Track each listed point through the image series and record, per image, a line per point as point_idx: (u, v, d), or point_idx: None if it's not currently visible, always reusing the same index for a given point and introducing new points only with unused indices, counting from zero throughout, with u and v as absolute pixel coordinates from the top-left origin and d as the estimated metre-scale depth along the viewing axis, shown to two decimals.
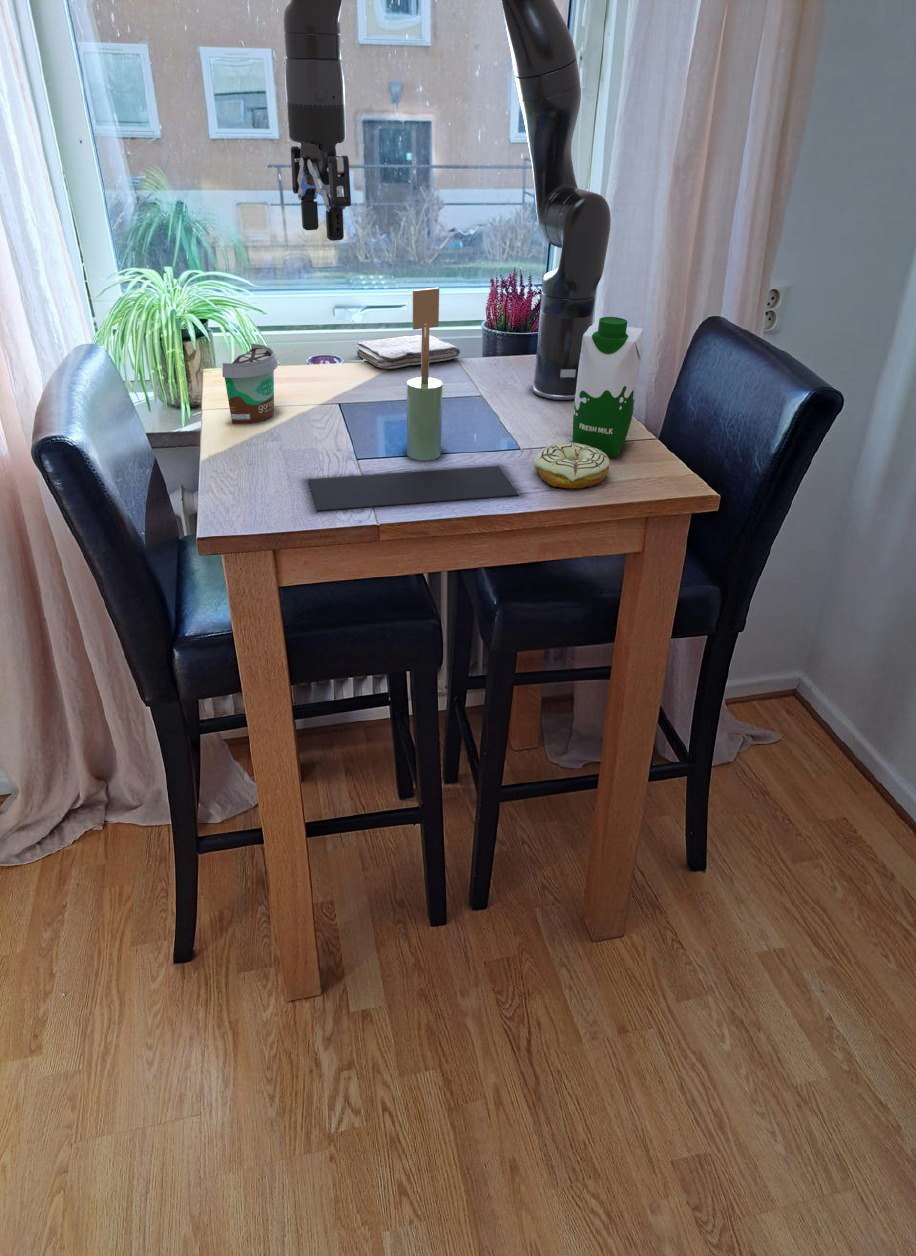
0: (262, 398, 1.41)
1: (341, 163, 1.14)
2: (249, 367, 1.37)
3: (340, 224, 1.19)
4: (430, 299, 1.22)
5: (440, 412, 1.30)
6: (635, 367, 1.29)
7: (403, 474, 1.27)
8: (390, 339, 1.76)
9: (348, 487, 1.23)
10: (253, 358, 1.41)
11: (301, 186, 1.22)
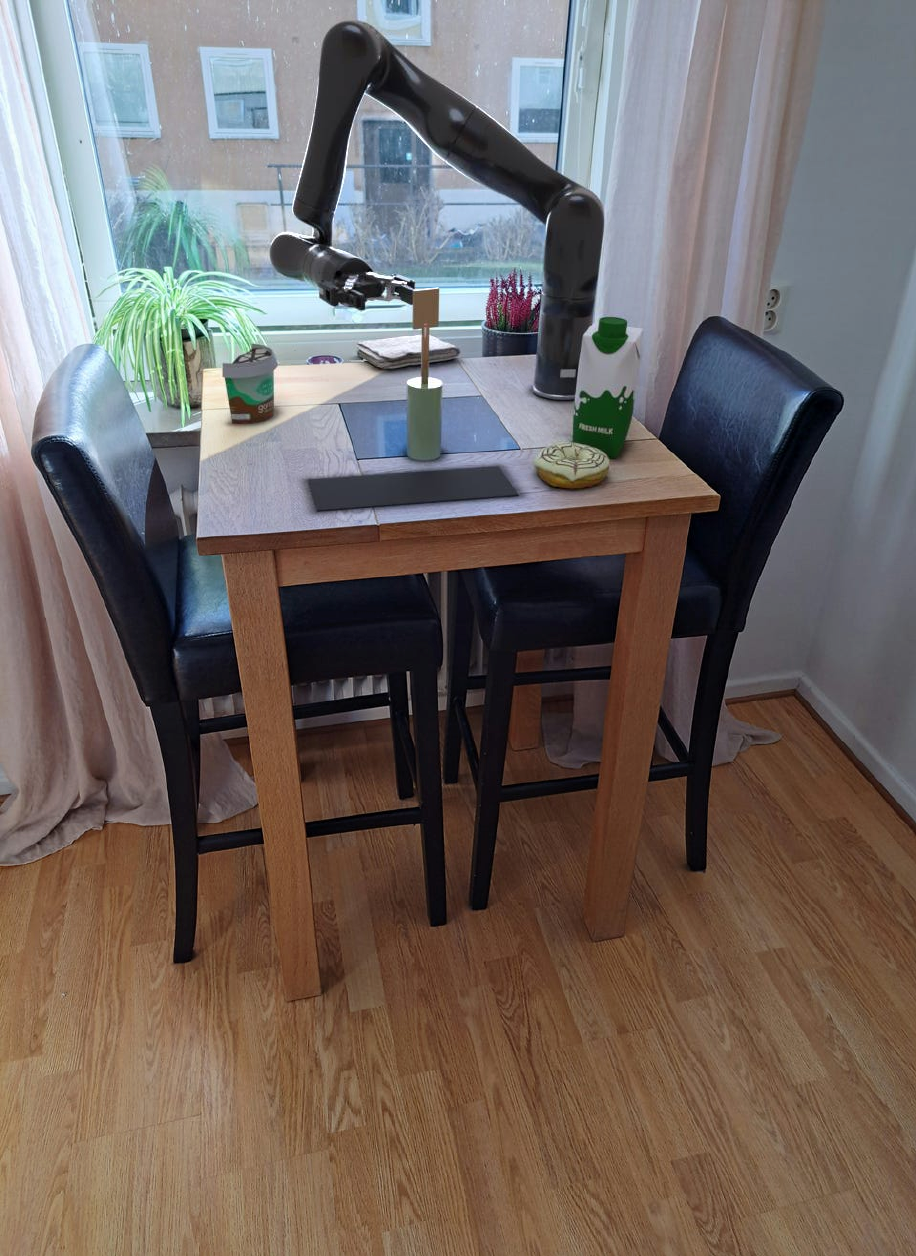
0: (262, 398, 1.41)
1: (319, 289, 1.34)
2: (249, 367, 1.37)
3: (350, 297, 1.30)
4: (430, 299, 1.22)
5: (440, 412, 1.30)
6: (635, 367, 1.29)
7: (403, 474, 1.27)
8: (390, 339, 1.76)
9: (348, 487, 1.23)
10: (253, 358, 1.41)
11: (388, 300, 1.37)
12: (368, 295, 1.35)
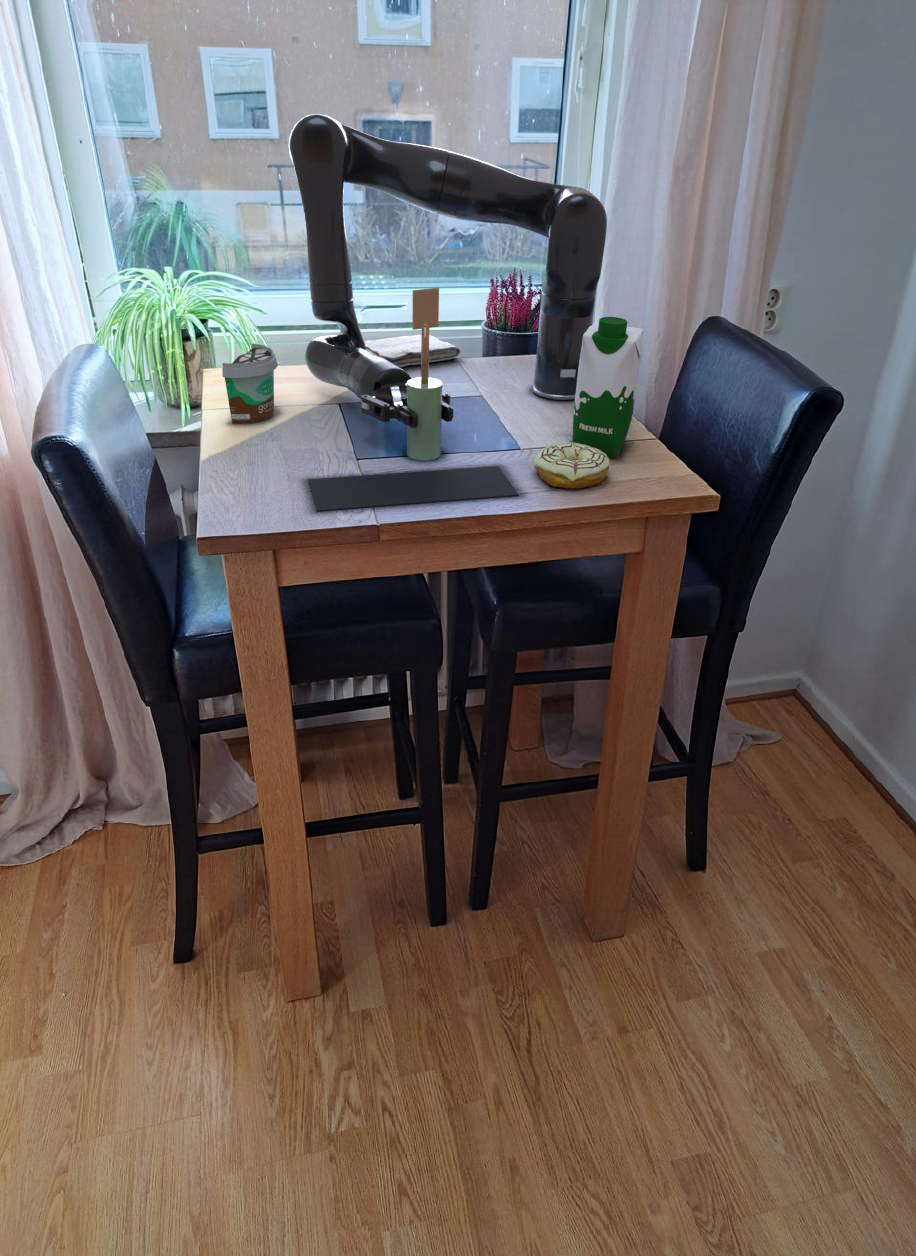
0: (262, 398, 1.41)
1: (363, 404, 1.32)
2: (249, 367, 1.37)
3: (402, 415, 1.28)
4: (430, 299, 1.22)
5: (440, 412, 1.30)
6: (635, 367, 1.29)
7: (403, 474, 1.27)
8: (390, 339, 1.76)
9: (348, 487, 1.23)
10: (253, 358, 1.41)
11: None
12: None
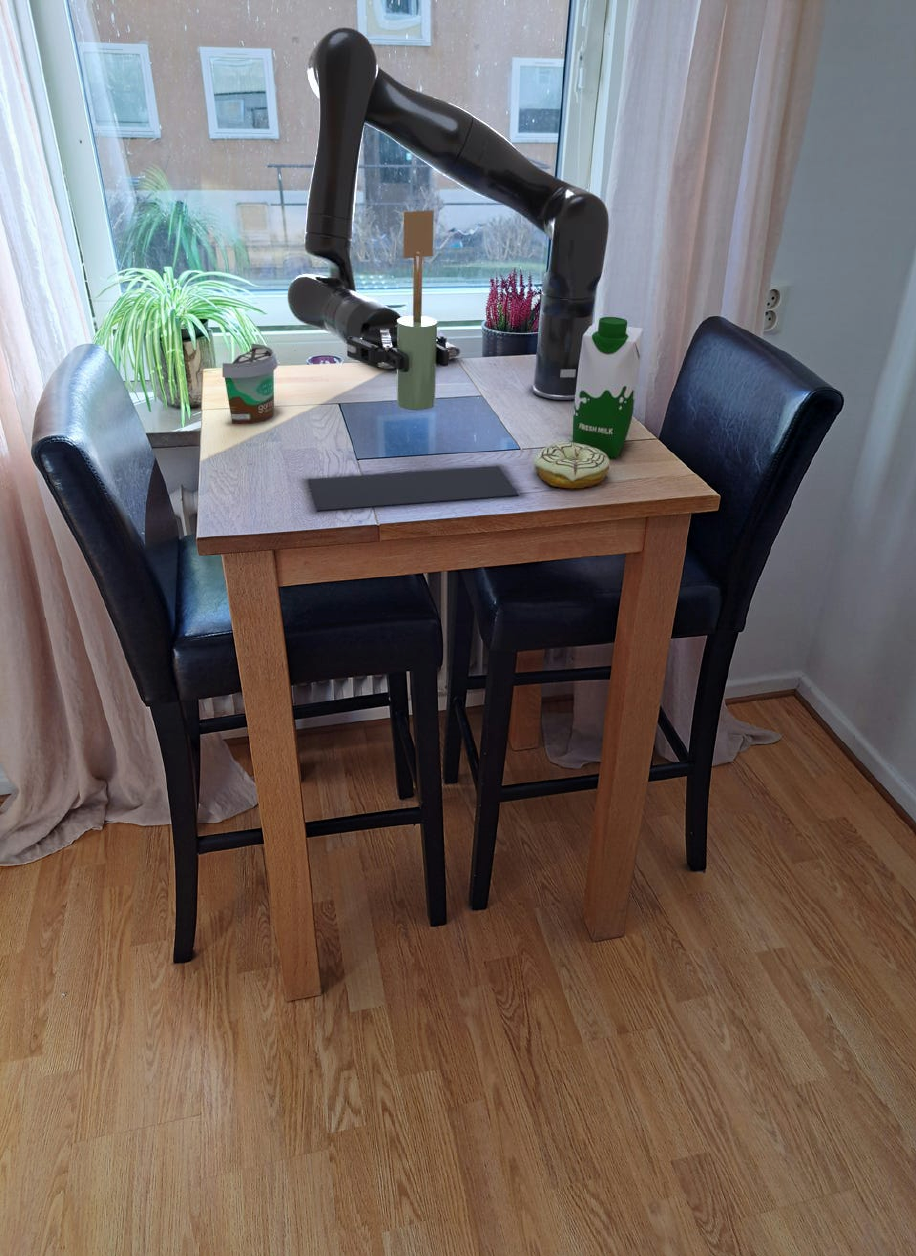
0: (262, 398, 1.41)
1: (349, 346, 1.18)
2: (249, 367, 1.37)
3: (391, 357, 1.14)
4: (423, 223, 1.08)
5: (434, 355, 1.16)
6: (635, 367, 1.29)
7: (403, 474, 1.27)
8: None
9: (348, 487, 1.23)
10: (253, 358, 1.41)
11: None
12: None
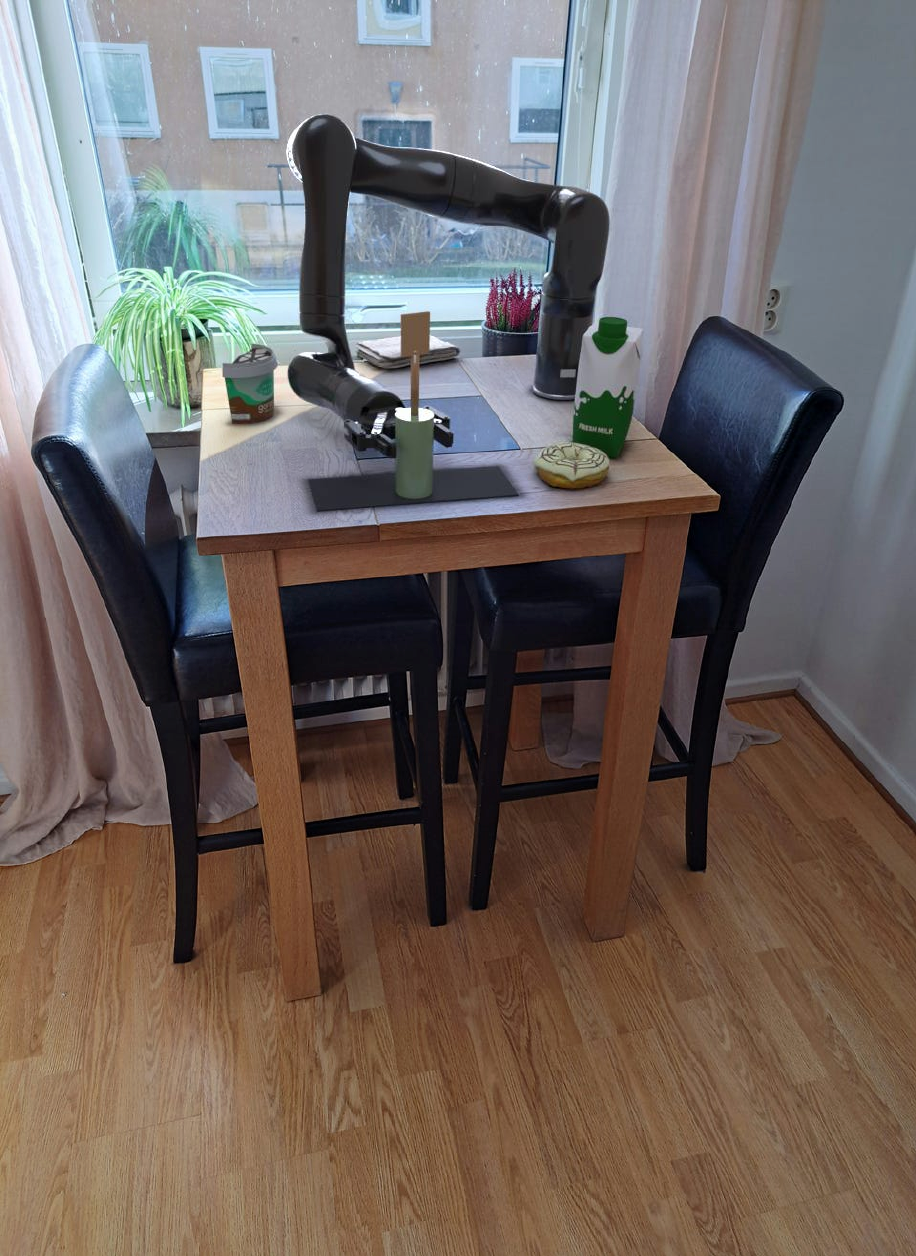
0: (262, 398, 1.41)
1: (345, 429, 1.21)
2: (249, 367, 1.37)
3: (379, 444, 1.16)
4: (420, 324, 1.10)
5: (432, 446, 1.18)
6: (635, 367, 1.29)
7: None
8: (390, 339, 1.76)
9: (348, 487, 1.23)
10: (253, 358, 1.41)
11: None
12: None
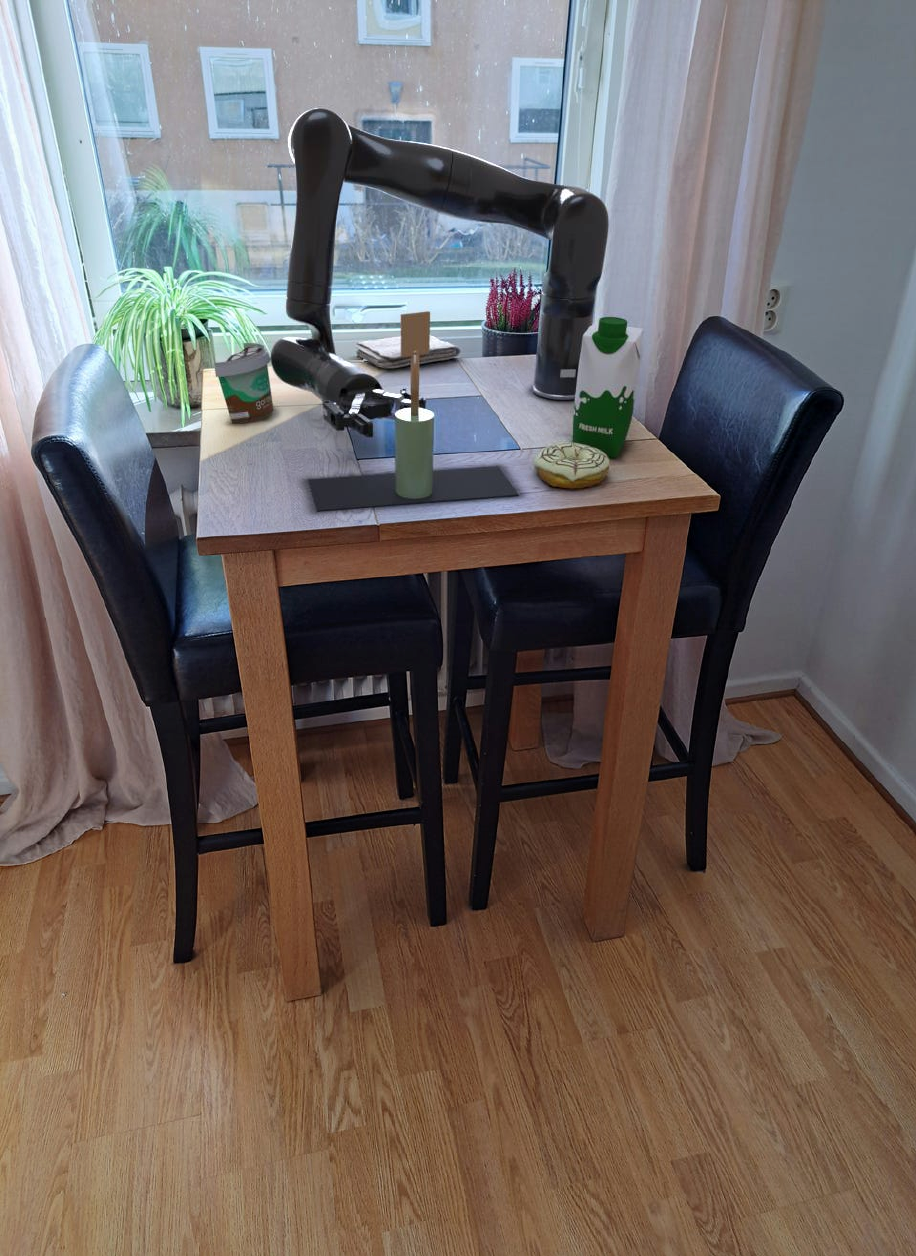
0: (258, 394, 1.41)
1: (324, 409, 1.26)
2: (241, 363, 1.37)
3: (357, 423, 1.21)
4: (420, 324, 1.10)
5: (432, 446, 1.18)
6: (635, 367, 1.29)
7: None
8: (389, 339, 1.76)
9: (348, 487, 1.23)
10: (246, 356, 1.41)
11: None
12: (375, 415, 1.27)
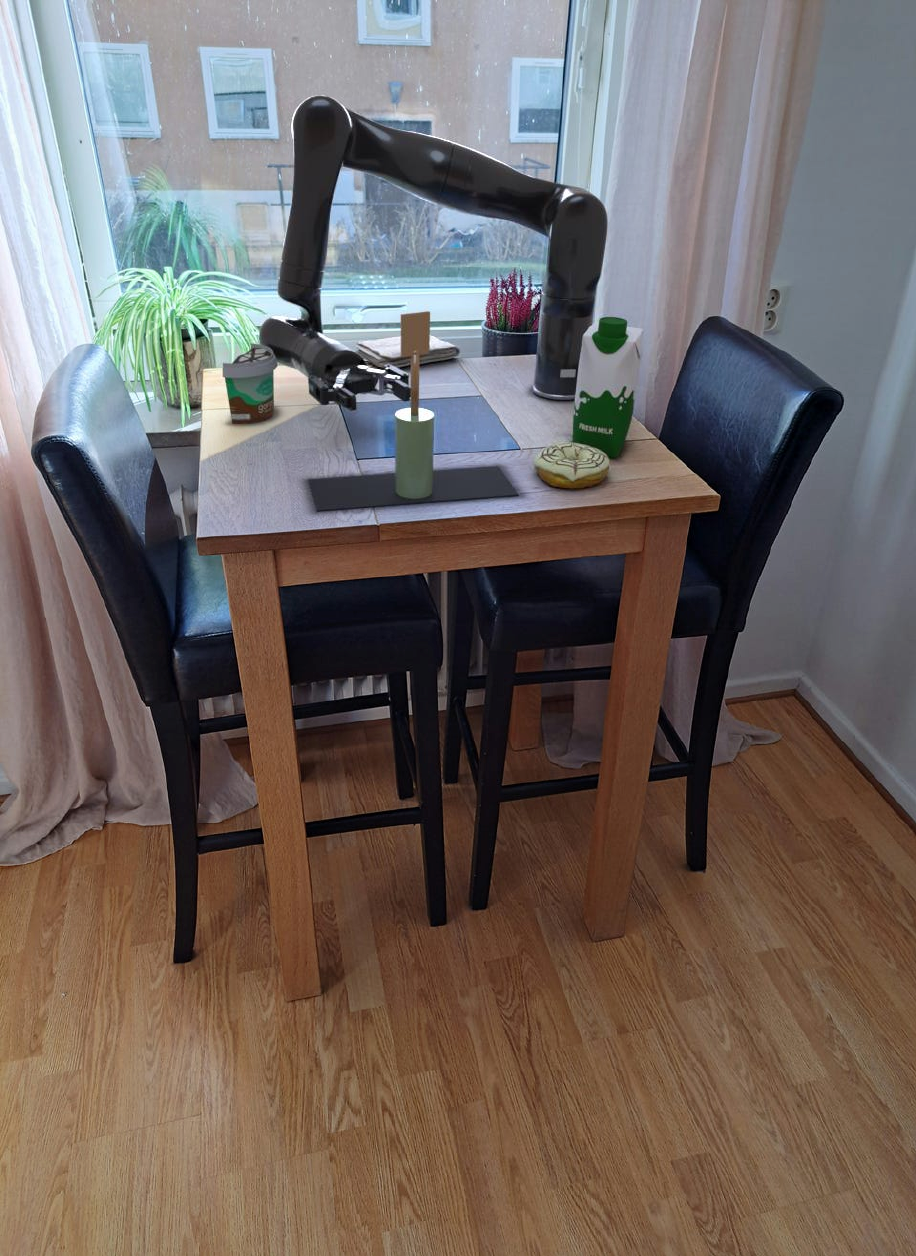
0: (262, 398, 1.41)
1: (309, 385, 1.29)
2: (249, 367, 1.37)
3: (340, 397, 1.24)
4: (420, 324, 1.10)
5: (432, 446, 1.18)
6: (635, 367, 1.29)
7: None
8: (389, 339, 1.76)
9: (348, 487, 1.23)
10: (253, 358, 1.41)
11: (381, 394, 1.32)
12: (360, 390, 1.30)
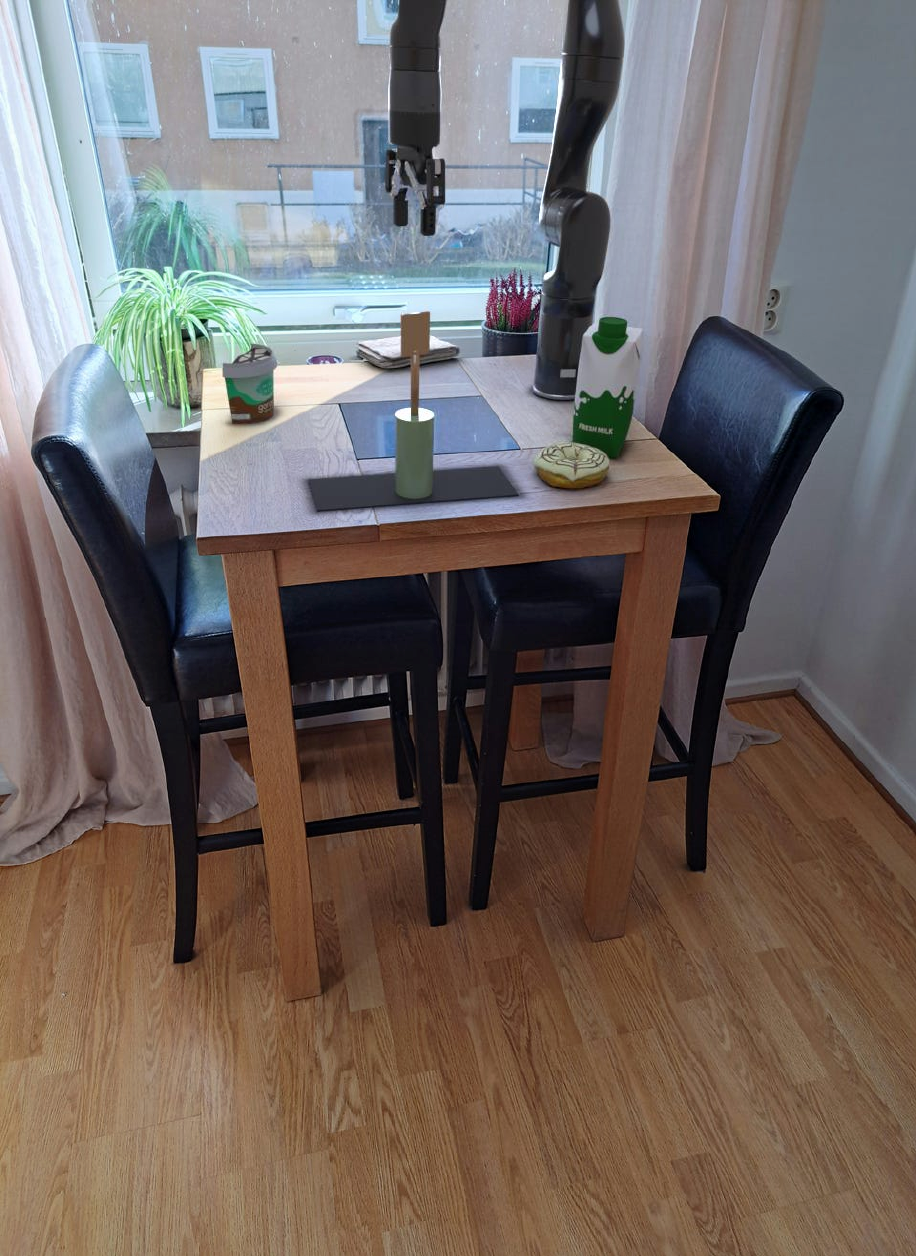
0: (262, 398, 1.41)
1: (438, 165, 1.25)
2: (249, 367, 1.37)
3: (433, 221, 1.30)
4: (420, 324, 1.10)
5: (432, 446, 1.18)
6: (635, 367, 1.29)
7: None
8: (389, 339, 1.76)
9: (348, 487, 1.23)
10: (253, 358, 1.41)
11: (395, 186, 1.33)
12: None
